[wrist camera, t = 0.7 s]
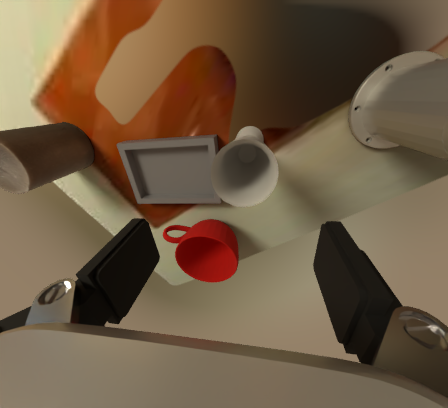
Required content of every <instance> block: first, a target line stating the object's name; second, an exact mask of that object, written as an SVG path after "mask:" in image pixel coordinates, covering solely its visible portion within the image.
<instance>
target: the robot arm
mask: <svg viewBox="0 0 448 408" xmlns="http://www.w3.org/2000/svg"><path fill="white" fill-rule="evenodd" d="M386 67H387V70H386V71H385V68H386ZM355 107H357V109H356V110H354V109H355ZM348 120H349V127H350V129H351V132H352V134H353V135H354V137H355V138H356V139H357V140H358V141H359V142H361V143H363V144H365V145H367V146H370V147H373V148H380V149H383V148H392V147H397V146H400V145H401V146H404V147H408V148H411V149H414V150H417V151H420V152H423V153H426V154H429V155H432V156H435V157H438V158H441V159H444V160H447V161H448V58H446V59H445V58H444V57H442V56H441V55H439V54H437V53H433V52H429V51H415V52H411V53H407V54H403V55H400V56H397V57H395V58H393V59H391V60H389V61H387V62H385V63H384V64H382V65H381V66H379V67H378V68H377V69H375V70H374V71H373V72H372V73H371V74H370V75H369V76H368V77H367V78H366V79H365V80H364V82H363V83H362V84H361V85H360V87H359V88H358V90H357V91H356V93H355V95H354V97H353V100H352V102H351V105H350V109H349V118H348ZM367 138H368V139H367ZM366 139H367V140H366ZM159 259H160V255H159V252H158V249H157V246H156V244H155V241H154V238H153V235H152V232H151V229H150V226H149V223H148V222H147V221H146V220H145V219H138V218H135V219H132V220H131V221H130V222H129V223H128V224H127V225H126V226H125V227H124V228H123V229H122V230H121V231H120V232H119V233H118V234H117V235H116V236H115V237H114V238H113V239H112V240H111V241H109V242H108V243H107V244H106V245H105V246H104V247H103V248H102V249H101V250H100V251H99V252H98V253H97V254H96V255H95V256H94V257H93V258H92V259H91V260H90V261H89V262H88V263H87V264H86V265H85V266H84V267H83V268H82V269H81V270H80V271H79V272H78V273H77V274H76V276H77V277H78V280H77V281H76V282H75V281H74V280H73V279H70V278H67V279H62V280H59V281H56V282H54V283H52V284H50V285H49V286H47V287H46V288H44V290H42V291H41V292H40V293H39V294H38V295H37V296H36V297H35V299H34V301H33V304H32V306H30V307H28V308H26V309H24V310H22V311H20V312H17V313H15V314H13V315H11V316H9V317H7V318H5V319H3V320H0V408H448V327H447V326H446V325H445V324H443V323H442V322H441V321H440V320H438V319H437V318H435V317H434V316H432V315H430V314H429V313H427V312H424V311H422V310H420V309H416V308H413V307H408V306H402V305H401V303H400V302H399V300H398V299H397V297H396V296H395V295H394V293H393V292H392V290H391V289H390V287H389V286H388V285H387V283H386V282H385V280H384V279H383V277H382V276H381V275H380V273H379V272H378V270H377V269H376V268H375V266H374V265H373V263H372V262H371V260H370V259H369V258H368V256H367V255H366V253H365V252H364V251H362V250H360V249H359V248H358V246H357V245H356V243H355V242H354V240H353V239H352V238H351V236H350V235H349V233H348V232H347V230H346V229H345V227H344V226H343V224H342V223H341V222H337V221H327V222H326V223H325V224H322V226H321V231H320V235H319V239H318V244H317V249H316V254H315V259H314V265H313V266H314V272H315V275H316V278H317V280H318V284H319V286H320V290H321V293H322V296H323V298H324V302H325V304H326V307H327V311H328V314H329V317H330V320H331V322H332V325H333V328H334V331H335V334H336V337H337V340H338V342H339V343H342V344H343V345H344V348H345V351H346V353H350V354H357V357H358V359H359V362H361V363H358V362H352V361H347V360H343V359H337V358H331V357H324V356H318V355H312V354H305V353H299V352H292V351H285V350H278V349H271V348H264V347H256V346H249V345H242V344H234V343H227V342H219V341H211V340H205V339H197V338H189V337H182V336H174V335H166V334H159V333H151V332H143V331H135V330H127V329H119V328H111V327H105V326H104V325H105V323H106V322H107V321H108V322H109V323H114V324H119V323H120V321H121V320H122V318H123V317H125V316H126V315H127V313H128V312H129V310H130V308H131V307H132V305H133V303H134V302H135V300H136V298H137V297H138V295H139V293H140V292H141V290H142V288H143V287H144V285H145V283H146V282H147V280H148V278H149V277H150V275H151V273H152V272H153V270H154V268H155V267H156V265H157V263H158V262H159Z"/></svg>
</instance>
